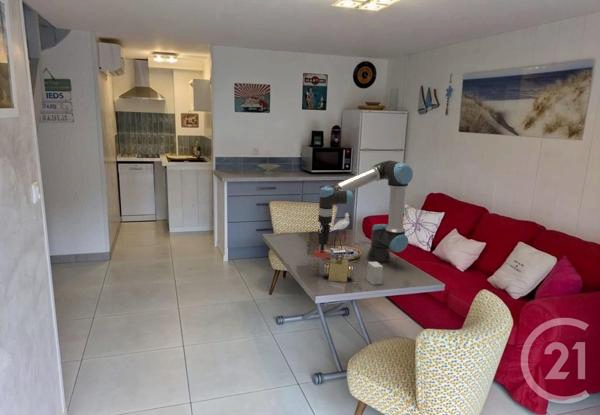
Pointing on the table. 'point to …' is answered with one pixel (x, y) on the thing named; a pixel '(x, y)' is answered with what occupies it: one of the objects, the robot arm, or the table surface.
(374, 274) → the small box
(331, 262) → the valve body
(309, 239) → the table surface
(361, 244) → the table surface
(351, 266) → the pipe
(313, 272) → the table surface
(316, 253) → the lever
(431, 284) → the table surface
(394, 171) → the robot arm
